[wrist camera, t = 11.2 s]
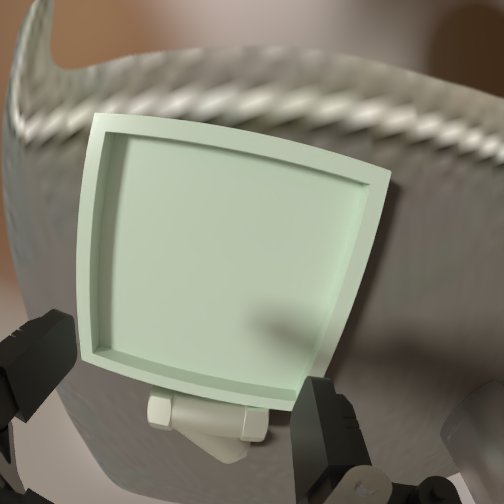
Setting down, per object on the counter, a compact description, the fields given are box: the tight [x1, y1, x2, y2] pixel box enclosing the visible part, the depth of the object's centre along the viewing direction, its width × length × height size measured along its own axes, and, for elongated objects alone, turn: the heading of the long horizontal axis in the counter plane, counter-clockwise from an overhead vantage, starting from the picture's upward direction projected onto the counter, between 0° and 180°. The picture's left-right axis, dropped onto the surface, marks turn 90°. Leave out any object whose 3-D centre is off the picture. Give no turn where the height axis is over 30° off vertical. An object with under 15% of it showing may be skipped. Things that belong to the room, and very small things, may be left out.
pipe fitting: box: [147, 384, 269, 463], centre depth 19 cm, size 8×4×7 cm
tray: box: [76, 113, 391, 411], centre depth 16 cm, size 16×16×2 cm
